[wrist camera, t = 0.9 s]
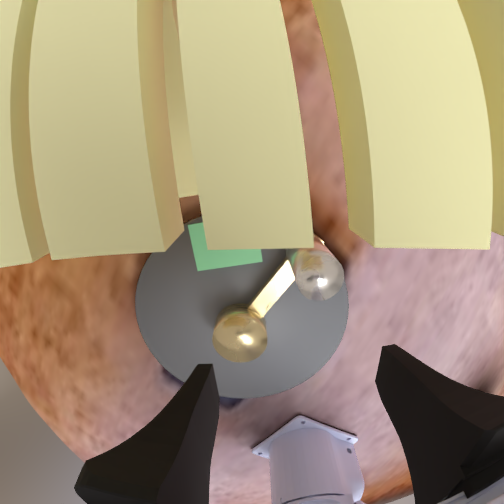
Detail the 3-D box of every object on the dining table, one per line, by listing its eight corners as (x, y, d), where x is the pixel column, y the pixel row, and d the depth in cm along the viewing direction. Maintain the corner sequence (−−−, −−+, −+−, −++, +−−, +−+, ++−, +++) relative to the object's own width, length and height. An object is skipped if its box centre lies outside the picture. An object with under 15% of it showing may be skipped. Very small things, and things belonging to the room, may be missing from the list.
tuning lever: (246, 353, 21) (245, 400, 17) (205, 329, 21) (195, 373, 16) (335, 250, 19) (361, 279, 14) (293, 217, 18) (308, 238, 14)
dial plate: (383, 291, 22) (389, 297, 21) (261, 412, 25) (261, 421, 24) (213, 161, 19) (210, 161, 18) (110, 327, 23) (105, 334, 21)
